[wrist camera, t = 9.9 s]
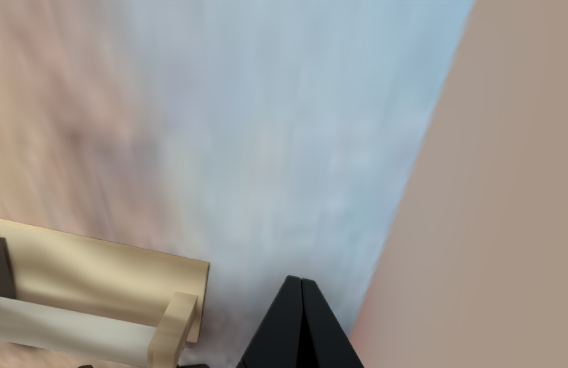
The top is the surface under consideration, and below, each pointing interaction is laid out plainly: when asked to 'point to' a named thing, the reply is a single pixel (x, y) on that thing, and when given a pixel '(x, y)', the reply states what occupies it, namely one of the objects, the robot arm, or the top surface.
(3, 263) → the grey square collar
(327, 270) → the top surface
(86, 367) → the bolt
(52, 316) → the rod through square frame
